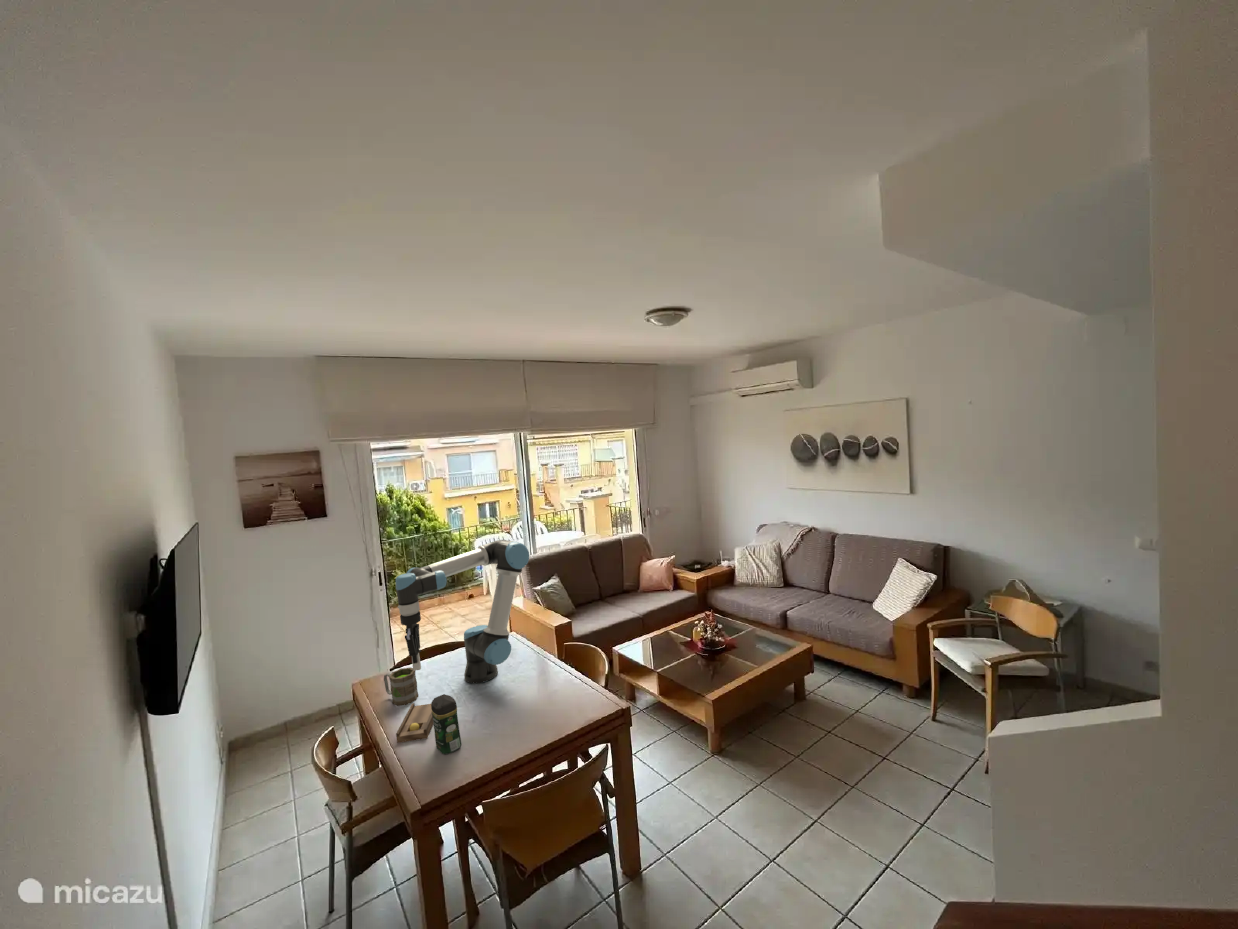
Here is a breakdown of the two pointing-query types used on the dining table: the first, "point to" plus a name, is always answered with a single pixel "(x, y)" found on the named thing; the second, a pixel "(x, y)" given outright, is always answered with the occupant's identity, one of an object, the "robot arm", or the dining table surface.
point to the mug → (402, 686)
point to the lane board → (416, 715)
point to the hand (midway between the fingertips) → (417, 669)
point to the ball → (414, 727)
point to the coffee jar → (446, 724)
